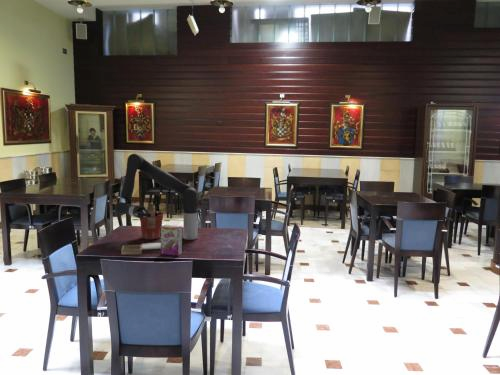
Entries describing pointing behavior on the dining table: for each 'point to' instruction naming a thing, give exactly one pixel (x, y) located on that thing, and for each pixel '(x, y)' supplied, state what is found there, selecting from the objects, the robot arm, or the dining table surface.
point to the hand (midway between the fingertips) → (153, 215)
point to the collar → (131, 249)
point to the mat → (151, 245)
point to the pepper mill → (152, 219)
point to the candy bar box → (171, 240)
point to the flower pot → (152, 232)
